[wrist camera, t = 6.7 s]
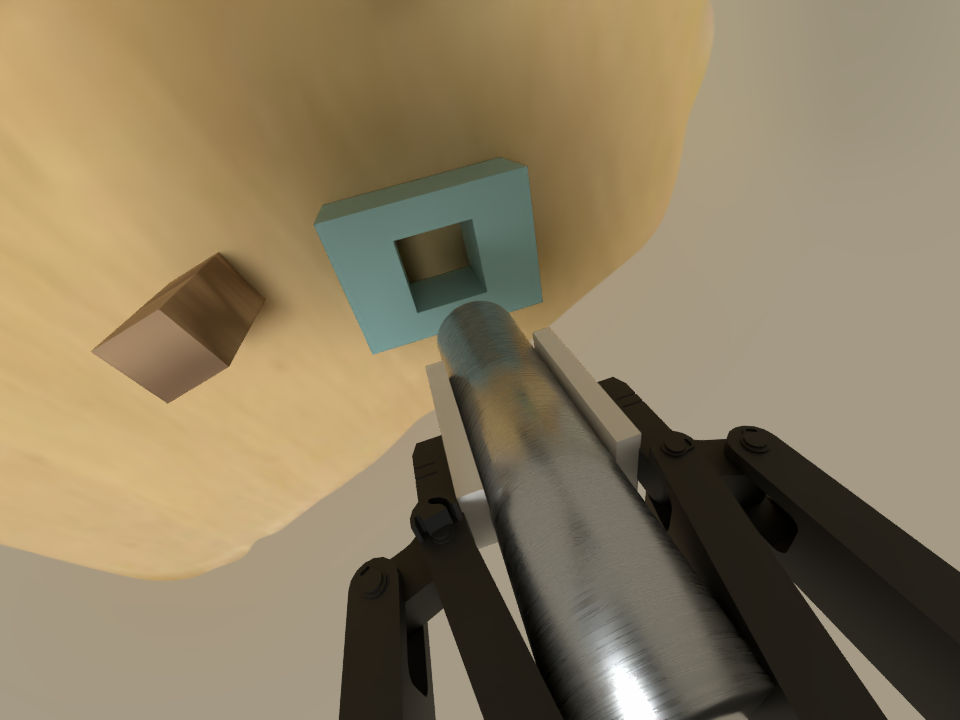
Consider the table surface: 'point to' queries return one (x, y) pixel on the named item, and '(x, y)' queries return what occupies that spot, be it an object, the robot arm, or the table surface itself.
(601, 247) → the table surface
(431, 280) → the socket block
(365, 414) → the table surface
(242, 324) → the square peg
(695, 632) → the round dowel
